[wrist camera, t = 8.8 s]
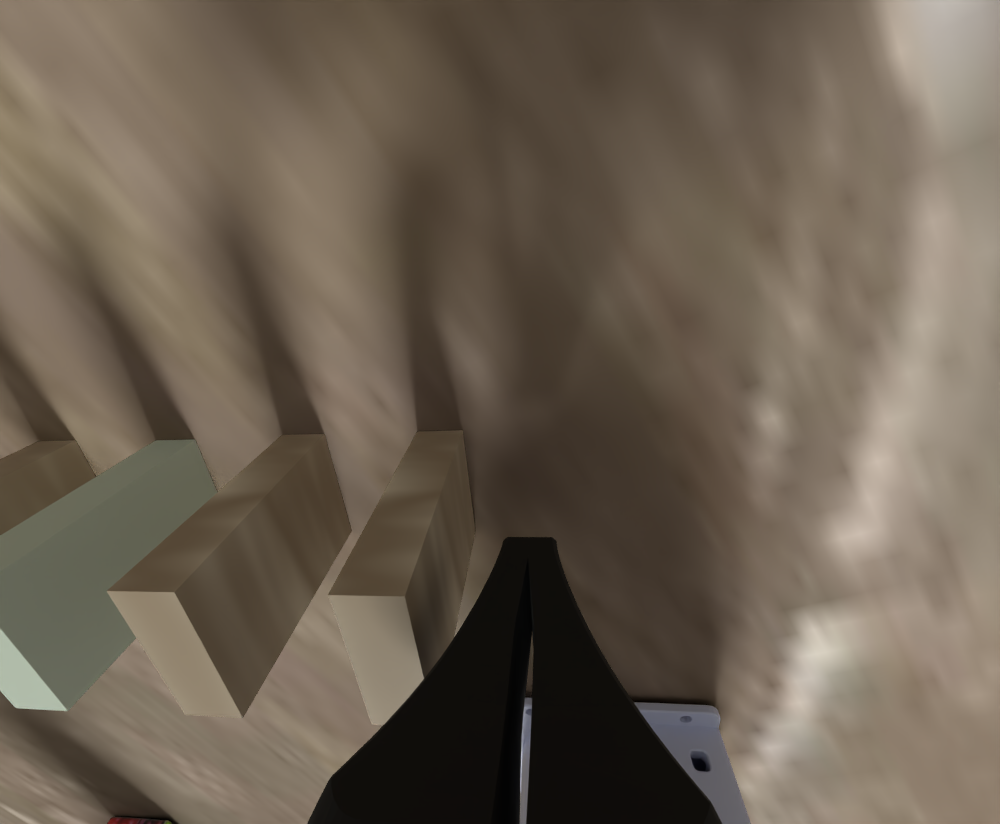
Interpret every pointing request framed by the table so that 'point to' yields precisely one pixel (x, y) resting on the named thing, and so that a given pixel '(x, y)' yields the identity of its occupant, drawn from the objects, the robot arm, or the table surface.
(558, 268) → the table surface
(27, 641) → the domino
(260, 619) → the domino
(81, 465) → the domino
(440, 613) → the domino
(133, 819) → the snack box
